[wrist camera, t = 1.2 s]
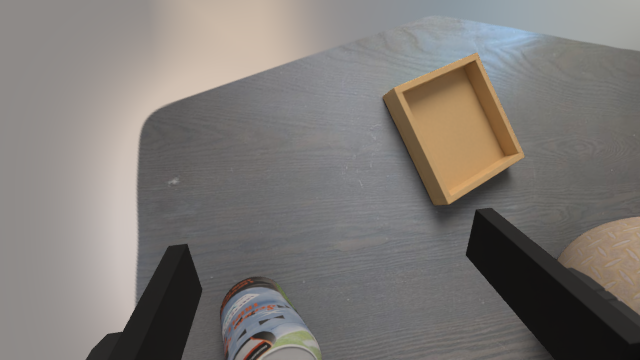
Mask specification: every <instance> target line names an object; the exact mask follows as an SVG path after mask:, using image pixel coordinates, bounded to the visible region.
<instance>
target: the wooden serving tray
mask: <svg viewBox="0 0 640 360" xmlns="http://www.w3.org/2000/svg"><path fill="white" fill-rule="evenodd" d="M479 58H480V57H479V55H478V53H475V54H472V55H470V56H468V57H465V58H463V59H461V60H458V61H456V62H454V63H451V64H449V65H446V66H444V67H442V68H439V69H437V70H435V71H432V72H430V73H428V74H425V75H423V76H421V77H418V78H416V79H414V80H411V81H409V82H407V83H404V84H402V85H399V86H397V87H395V88H393V89H392V90H390V91H389V92H388V93H387V94H385V95H384V96H383V99H384V101H385V103H386V105H387V107H388V109H389V112H390V114H391V116H392V118H393V120H394V122H395V124H396V126H397V128H398V131H399V133H400V135H401V137H402V139H403V141H404V143H405V145H406V147H407V150H408V152H409V154H410V156H411V158H412V160H413V162H414V164H415V166H416V169H417V171H418V173H419V175H420V177H421V179H422V181H423V183H424V185H425V188H426V190H427V192H428V194H429V196H430V198H431V200H432V202H433V204H434V205H449V204H451V203H452V202H454V201H455V200H457V199H459V198H460V197H462V196H463V195H465V194H467V193H468V192H470V191H471V190H473V189H475V188H476V187H478V186H479V185H481V184H482V183H484V182H486V181H487V180H489V179H490V178H492V177H494V176H495V175H497V174H498V173H500V172H501V171H503V170H505V169H506V168H508V167H509V166H511V165H513V164H514V163H516V162H517V161H519V160H520V159H522V158H524V157H525V156H524V154H523V152H522V149H521V147H520V145H519V143H518V141H517V138H516V136H515V134H514V132H513V130H512V127H511V125H510V123H509V121H508V119H507V117H506V114H505V112H504V110H503V108H502V106H501V104H500V101H499V99H498V97H497V95H496V93H495V90H494V88H493V86H492V84H491V82H490V80H489V77H488V75H487V73H486V71H485V69H484V67H483V64H482V62H481V60H480V59H479Z"/></svg>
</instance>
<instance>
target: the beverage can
mask: <svg viewBox="0 0 640 360" xmlns="http://www.w3.org/2000/svg"><path fill="white" fill-rule="evenodd" d="M220 319H221V328H222V336H223V345H224V353H225V360H322V359H321V352H320V348H319V345H318V343H317V341H316V339H315V338H314V336H313V335H312V333H311V332H310V330H309V329H308V327H307V326H306V324H305V323H304V321H303V320H302V318H301V317H300V315H299V314H298V313H297V311H296V310H295V308H294V307H293V305H292V304H291V302H290V301H289V299H288V298H287V296H286V295H285V293H284V292H283V290H282V289H281V288H280V286H279V285H278V284H277V283H276V282H274V281H273V280H271V279H269V278H265V277H251V278H248V279H245V280H243V281H241V282H239V283H238V284H236V285H235V286H234V287H233V288H232V289H231V290H230V291H229V292H228V293H227V295H226V296H225V298H224V300H223V302H222V306H221V311H220Z"/></svg>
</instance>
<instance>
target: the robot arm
mask: <svg viewBox="0 0 640 360" xmlns="http://www.w3.org/2000/svg"><path fill="white" fill-rule="evenodd" d="M466 256H467V257H468V258H469V260H470V261H471V262H472V263H473V264H474V265H475V267H476V268H477V269H478V270H479V271H480V272H481V274H482V275H483V276H484V277H485V278H486V279H487V281H488V282H489V283H490V284H491V285H492V286H493V288H494V289H495V290H496V291H497V292H498V293H499V295H500V296H501V297H502V298H503V299H504V301H505V302H506V303H507V304H508V305H509V306H510V308H511V309H512V310H513V311H514V312H515V313H516V315H517V316H518V317H519V318H520V319H521V320H522V322H523V323H524V324H525V325H526V326H527V327H528V329H529V330H530V331H531V332H532V333H533V334H534V336H535V337H536V338H537V339H538V340H539V341H540V343H541V344H542V345H543V346H544V347H545V348H546V350H547V351H548V352H549V353H550V354H551V355H552V357H553V358H554V359H555V360H640V315H639V314H638V313H636V312H635V311H634V310H632V309H631V308H630V307H629V306H627V305H626V304H625V303H623V302H622V301H619V300H618V298H617V297H616V296H614V295H613V294H612V293H610V292H609V291H606V290H605V288H604V287H603V286H601V285H600V284H599V283H597V282H596V281H595V280H593V279H592V278H591V277H589V276H587V275H586V274H584V273H582V272H580V271H578V270H576V269H574V268H572V267H571V268H566V267H564V266H563V265H562V264H561V263H560V262H558V261H557V260H556V259H555V258H553V257H552V256H551V255H550V254H548V253H547V252H546V251H545V250H543V249H542V248H541V247H540V246H538V245H537V244H536V243H535V242H533V241H532V240H531V239H530V238H528V237H527V236H526V235H525V234H523V233H522V232H521V231H520V230H518V229H517V228H516V227H515V226H513V225H512V224H511V223H510V222H508V221H507V220H506V219H505V218H503V217H502V216H501V215H500V214H498V213H497V212H496V211H495V210H493V209H492V208H485V209H477V210H476V212H475V216H474V221H473V225H472V229H471V234H470V238H469V243H468V247H467V252H466ZM201 293H202V287H201V284H200V281H199V278H198V275H197V272H196V269H195V266H194V263H193V260H192V257H191V254H190V251H189V248H188V245H187V244H182V245H173V246H169V247H168V248H167V250H166V252H165V254H164V256H163V258H162V260H161V261H160V263H159V265H158V267H157V269H156V271H155V273H154V274H153V276H152V278H151V280H150V282H149V284H148V286H147V287H146V289H145V291H144V293H143V295H142V297H141V298H140V300H139V302H138V304H137V306H136V308H135V310H134V311H133V313H132V315H131V317H130V320H129V321H128V323H127V324H126V326H125V328H124V330H123V332H118V333H111V334H107V335H106V336H105V337H104V338H103V339H102V340H101V341H100V342H99V343H98V344H97V345H96V346H95V347H94V348H93V349H92V350H91V352H90V354H89V355H88V357H87V359H86V360H181V358H182V355H183V351H184V348H185V345H186V342H187V339H188V335H189V332H190V329H191V326H192V322H193V319H194V316H195V313H196V310H197V306H198V303H199V300H200V297H201Z"/></svg>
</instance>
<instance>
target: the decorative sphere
mask: <svg viewBox="0 0 640 360" xmlns="http://www.w3.org/2000/svg"><path fill="white" fill-rule="evenodd" d="M557 261H558V262H560V263H561V264H562V265H563V266H564V267H566V268H571V267H572V268H574V269H576V270H578V271H580V272H582V273H584V274H586V275H587V276H589V277H591V278H592V279H593V280H595V281H596V282H597V283H599V284H600V285H601V286H603V287H604V288H605V290H606V291H609V292H610V293H612V294H613V295H614V296H616V297H617V298H618V300H619V301H622V302H623V303H625V304H626V305H627V306H629V307H630V308H631V309H632V310H634V311H635V312H636V313H638V314H639V315H640V217H633V218H627V219H621V220H617V221H613V222H609V223H606V224H603V225H600V226H598V227H595V228H593V229H591V230H589V231H587V232H585V233H584V234H582V235H580V236H579V237H578V238H576V239H575V240H574V241H573V242H571V243H570V244H569V245H568V246H567V247H566V248H565V250H564V251H563V252H562V253H561V255H560V256H559V258H558V260H557Z"/></svg>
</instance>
